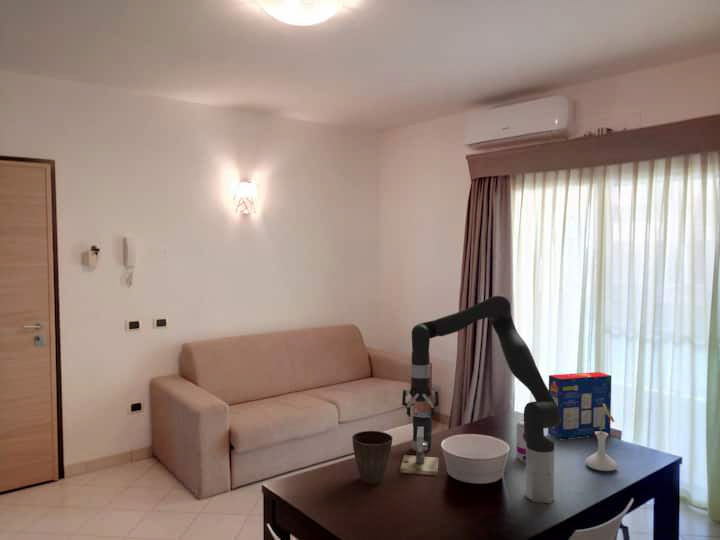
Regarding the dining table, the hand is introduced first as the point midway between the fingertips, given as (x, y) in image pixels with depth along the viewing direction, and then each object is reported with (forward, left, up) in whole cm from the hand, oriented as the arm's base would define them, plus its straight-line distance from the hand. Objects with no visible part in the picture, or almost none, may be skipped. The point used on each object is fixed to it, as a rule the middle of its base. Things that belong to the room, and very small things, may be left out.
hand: (420, 416), depth 207 cm
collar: (0, 0, -13) cm, 13 cm away
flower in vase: (+14, -71, -20) cm, 75 cm away
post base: (0, 0, -20) cm, 20 cm away
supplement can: (+17, -43, -20) cm, 50 cm away
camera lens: (+19, +1, -20) cm, 28 cm away
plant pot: (-16, +16, -20) cm, 31 cm away
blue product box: (+53, -70, -20) cm, 91 cm away
